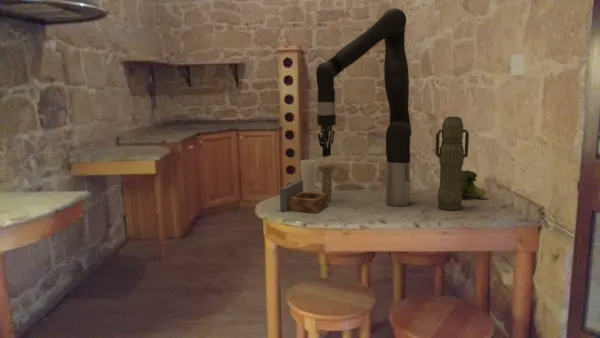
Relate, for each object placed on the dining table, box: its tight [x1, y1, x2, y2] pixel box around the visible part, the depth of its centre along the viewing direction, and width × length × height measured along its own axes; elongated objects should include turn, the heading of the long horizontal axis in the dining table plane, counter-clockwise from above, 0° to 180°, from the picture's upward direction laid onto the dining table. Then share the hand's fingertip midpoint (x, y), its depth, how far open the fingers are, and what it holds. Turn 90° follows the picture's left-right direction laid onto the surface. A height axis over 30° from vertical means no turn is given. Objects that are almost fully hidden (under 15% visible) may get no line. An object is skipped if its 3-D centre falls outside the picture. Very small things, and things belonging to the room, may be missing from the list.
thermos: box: [435, 116, 470, 212], centre depth 181 cm, size 9×12×35 cm
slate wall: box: [279, 179, 303, 213], centre depth 190 cm, size 2×17×9 cm, turn 157°
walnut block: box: [287, 191, 329, 214], centre depth 187 cm, size 12×12×5 cm
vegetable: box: [461, 170, 487, 200], centre depth 200 cm, size 12×13×15 cm
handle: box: [318, 164, 336, 203], centre depth 196 cm, size 5×6×15 cm
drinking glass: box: [299, 159, 317, 193], centre depth 209 cm, size 7×7×15 cm
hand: (326, 155), depth 194 cm, fingers open, 2 cm apart
